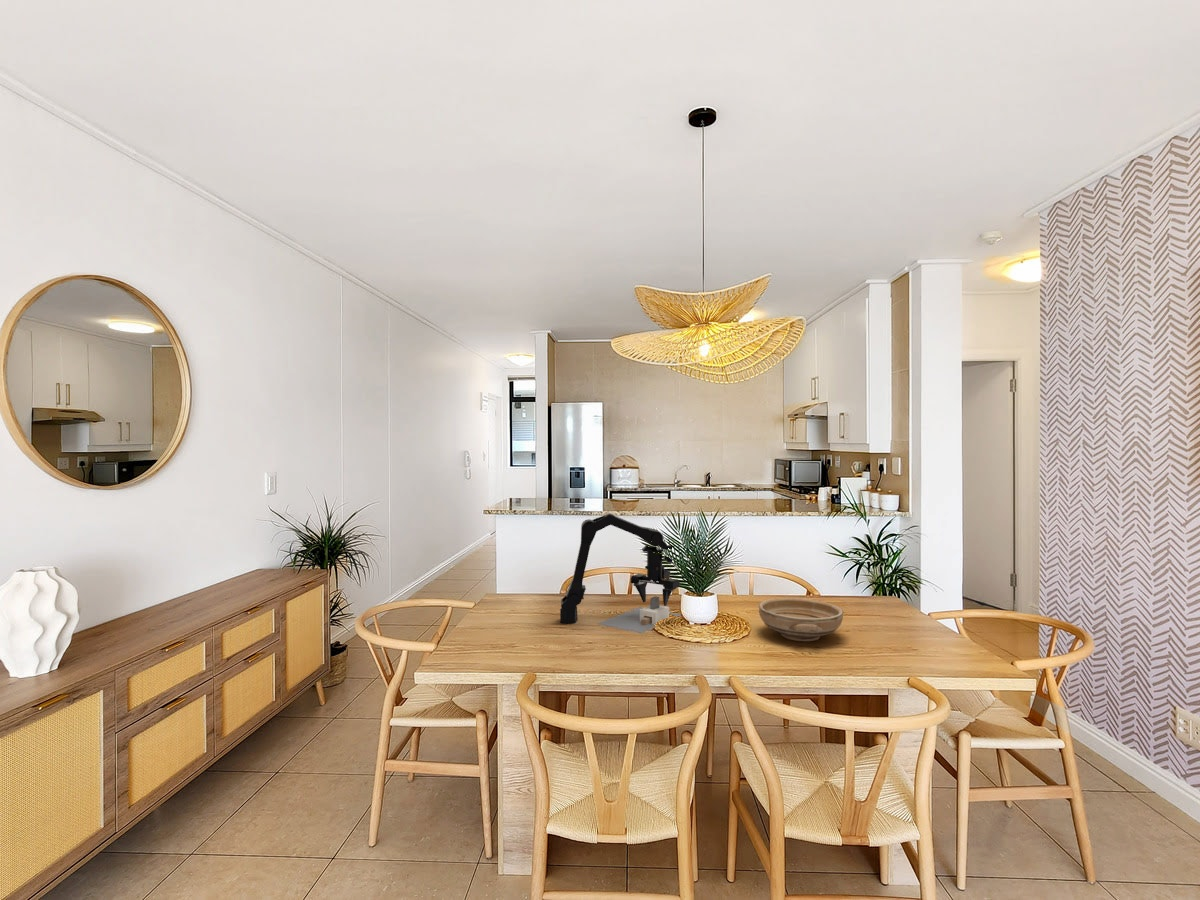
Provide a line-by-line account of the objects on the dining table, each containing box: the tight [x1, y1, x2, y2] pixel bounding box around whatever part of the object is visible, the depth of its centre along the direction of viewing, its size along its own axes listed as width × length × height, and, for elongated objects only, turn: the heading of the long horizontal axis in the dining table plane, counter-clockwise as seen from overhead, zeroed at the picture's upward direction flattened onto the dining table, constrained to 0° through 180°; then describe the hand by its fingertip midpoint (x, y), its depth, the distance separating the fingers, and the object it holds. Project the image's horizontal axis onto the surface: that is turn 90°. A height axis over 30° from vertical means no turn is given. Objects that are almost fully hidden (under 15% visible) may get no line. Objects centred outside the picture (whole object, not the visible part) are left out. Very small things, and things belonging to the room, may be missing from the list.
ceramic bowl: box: [758, 597, 844, 642], centre depth 216 cm, size 37×29×10 cm
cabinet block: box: [640, 595, 670, 624], centre depth 233 cm, size 10×7×8 cm
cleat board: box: [596, 606, 682, 634], centre depth 234 cm, size 30×20×3 cm, turn 144°
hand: (654, 604), depth 233 cm, fingers open, 9 cm apart
